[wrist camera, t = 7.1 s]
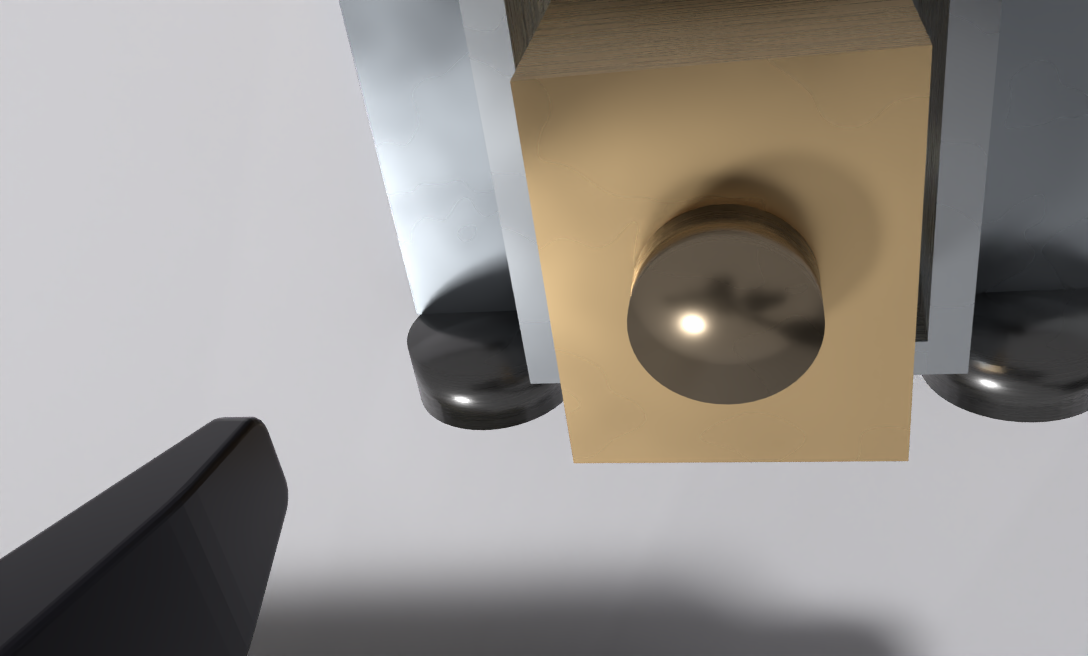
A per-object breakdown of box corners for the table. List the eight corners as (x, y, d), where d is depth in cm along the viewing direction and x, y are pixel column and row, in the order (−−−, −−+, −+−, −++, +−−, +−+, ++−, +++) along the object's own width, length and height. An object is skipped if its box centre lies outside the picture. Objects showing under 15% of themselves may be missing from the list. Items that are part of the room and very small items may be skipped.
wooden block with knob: (867, -97, 14) (946, 75, 9) (860, 221, 17) (917, 507, 12) (584, -65, 15) (493, 112, 10) (619, 234, 18) (564, 507, 12)
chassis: (1198, -383, 13) (1326, -385, 10) (1085, 316, 19) (1148, 442, 16) (305, -240, 15) (206, -211, 13) (441, 336, 21) (394, 449, 18)
